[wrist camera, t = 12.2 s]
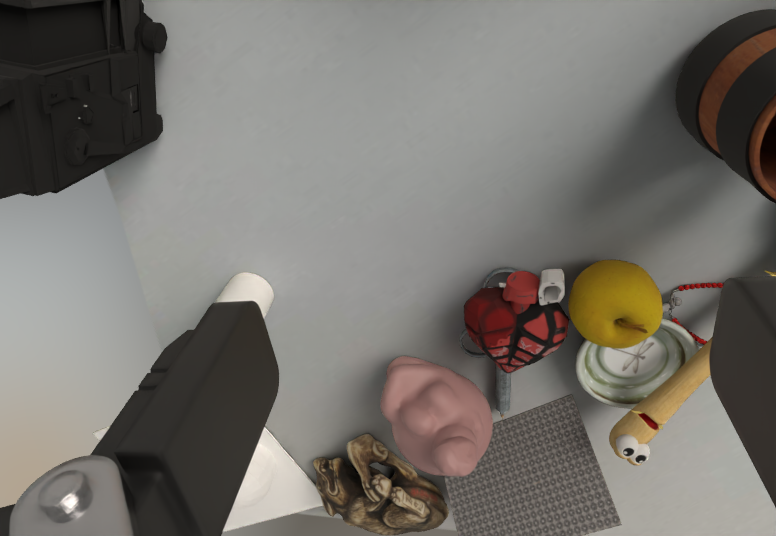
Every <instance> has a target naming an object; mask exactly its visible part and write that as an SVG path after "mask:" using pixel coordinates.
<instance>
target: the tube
mask: <svg viewBox="0 0 776 536" xmlns="http://www.w3.org/2000/svg"><path fill="white" fill-rule="evenodd" d="M273 300H274V293H273V290H272V288H271V286H270V285H269V283H268V282H267V281H266V280H265V279H263V278H262V277H260V276H258V275H256V274H253V273H239V274H237V275H235V276H233V277H232V278H231V279H230V281H229V282H228V284H227V285H226V287H225V288H224V290H223V291H222V293H221V294H220V296H219V297H218V298H217V300H216V301H215V302H233V301H255V302H256V303H257V304H258V305H259V307H260V309H261V312H262V315H263V319H264V318H265V316H266V314H267V312H268V310H269V308H270V306H271V305H272V303H273Z"/></svg>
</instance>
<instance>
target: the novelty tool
mask: <svg viewBox="0 0 776 536" xmlns="http://www.w3.org/2000/svg"><path fill="white" fill-rule="evenodd" d="M764 271H765V270H764ZM765 272H767V273H768V274H769V273H770V275H771V276H776V272H769V271H765ZM774 273H775V274H774ZM712 338H713V337H712ZM712 338H711V339H710V340H709V341H708V342H707V343H706V344H705V345H704V346H703V347H702V348H701V349H700V350H699V351H698V352H697V353H696V354H695V355H693V356H692V357H691V358H690V359H689V360H688V361H687V362H686V363H685V364H684V365H683V366H682V367H681V368H680V369H679V370H678V371H677V372H675V373H674V374H673V375H672V376H671V377H670V378H668V379H667V380H666V381H665V382H664V383H663V384H662V385H660V386H659V387H658V388H657V389H655V390H654V391H653V392H652V393H651V394H649V395H648V396H647V397H646V398H645V399H643V400H642V401H641V402H640V403H639V404H637V405H636V406H635V407H634V408H633V409H632V410H631V411H629V412H628V413H627V414H626V415H625V416H624V417H623V418H622V419H621V420H620V421H619V422H617V423H616V425H615V426H614V427H613V429H612V430H611V432H610V436H609V441H610V444H611V446H612V448H613V449H614V452H615V454H616V455H617V456H618V457H620V458H622V459H627V461H628V462H630V463H631V464H633V465H641V464H642V463H644V462H645V461H647V459H648V458H649V455H650V449H649V447H648V445H647V443H648V442H649V441H650V440H652V439H653V437H654V436H655V435H656V434H657V433H658V432H659V427H660V428H661V429H662V428H663V427H662V425H664V424H665V423H666V422H667V420H668V419H669V418H670V417H672V416H673V414H674V413H675V412H676V411H677V410H678V408H679V407H680V406H681V405H682V404H683V403H684V401H685V400H686V399H687V398H688V397H689V396H690V395H691V394H692V393H693V392H694V391H695V390H696V389H697V388H698V387H699V386H700V385H701V384H702V383H703V382H704V381H705V380H706V379H707V378H708V377H709V376H710V375H711V374H710V365H709V355H710V348H711V343H712Z"/></svg>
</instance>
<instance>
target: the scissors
mask: <svg viewBox="0 0 776 536" xmlns="http://www.w3.org/2000/svg"><path fill="white" fill-rule="evenodd" d="M501 272H510V273H514V272H517V270H514V269H512V268H499V269H497V270H494V271H493V272H492V273H491V274H489V275H488V277H487V279H486V281H485V288H488V286H487V284H488V282H489V280H490V279H491V278H492V277H493V276H494V275H496V274H498V273H501ZM466 333H468V331H467V329H465V330H464V331H463V332H462V334H461V336H460V339H459V341H460V345H461V348H462V349H463V351H464V352H465V353H466V354H468V355H470V356H472V357H478V358H481V357H487V355H486V354H485V353H475V352H471V351H469V350H468V349H466V347H465V346H464V345H463V342H462V338H463V336H464V335H465V334H466ZM510 386H511V373H505V372H504V371H503V370H501V369H500V368H499V367H498V366H497V364H496V409H497V411H499V412H500V414H501V417H502V422H503V416H504V414H505V412H507V411H508V410H509V408H510Z"/></svg>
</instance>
